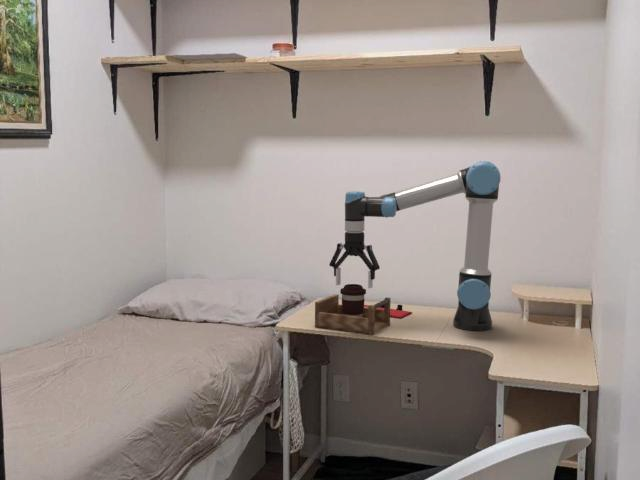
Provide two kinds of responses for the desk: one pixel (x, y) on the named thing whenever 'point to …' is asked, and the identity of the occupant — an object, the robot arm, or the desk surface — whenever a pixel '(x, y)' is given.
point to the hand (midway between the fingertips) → (354, 286)
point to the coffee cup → (353, 300)
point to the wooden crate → (351, 317)
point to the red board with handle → (395, 312)
